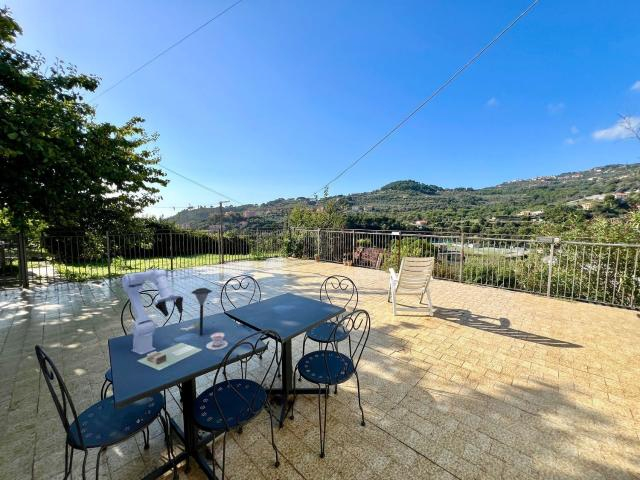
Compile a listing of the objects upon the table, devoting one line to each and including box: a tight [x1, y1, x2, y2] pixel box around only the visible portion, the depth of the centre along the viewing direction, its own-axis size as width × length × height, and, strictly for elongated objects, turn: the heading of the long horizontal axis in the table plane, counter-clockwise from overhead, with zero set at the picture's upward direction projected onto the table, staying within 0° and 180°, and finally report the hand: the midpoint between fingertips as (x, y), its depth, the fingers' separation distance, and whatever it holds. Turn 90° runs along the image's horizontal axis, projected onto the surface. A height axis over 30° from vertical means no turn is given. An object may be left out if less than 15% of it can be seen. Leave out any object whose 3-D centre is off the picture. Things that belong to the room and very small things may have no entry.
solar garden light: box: [191, 287, 213, 337], centre depth 169 cm, size 12×12×30 cm
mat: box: [137, 342, 203, 371], centre depth 142 cm, size 18×25×1 cm
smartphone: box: [179, 322, 200, 332], centre depth 182 cm, size 7×1×15 cm
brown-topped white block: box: [146, 350, 166, 365], centre depth 136 cm, size 9×4×3 cm, turn 64°
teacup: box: [205, 332, 228, 351], centre depth 156 cm, size 12×12×6 cm
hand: (174, 314), depth 133 cm, fingers open, 7 cm apart
